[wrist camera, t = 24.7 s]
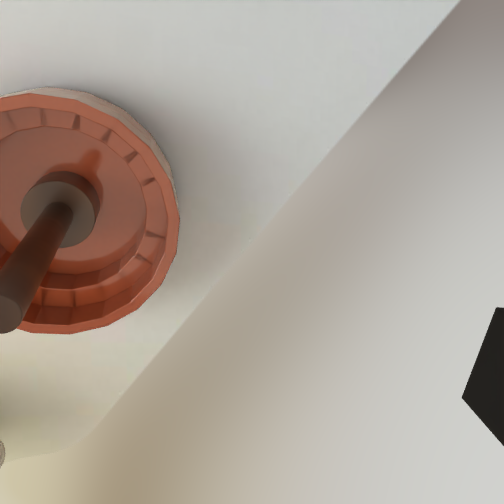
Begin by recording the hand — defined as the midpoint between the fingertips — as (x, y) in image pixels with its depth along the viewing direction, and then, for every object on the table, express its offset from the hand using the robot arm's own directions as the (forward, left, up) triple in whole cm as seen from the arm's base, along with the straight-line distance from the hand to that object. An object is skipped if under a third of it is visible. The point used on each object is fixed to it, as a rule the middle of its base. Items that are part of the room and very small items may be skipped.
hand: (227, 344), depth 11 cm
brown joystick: (+8, +6, -28) cm, 30 cm away
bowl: (+8, +6, -29) cm, 30 cm away
